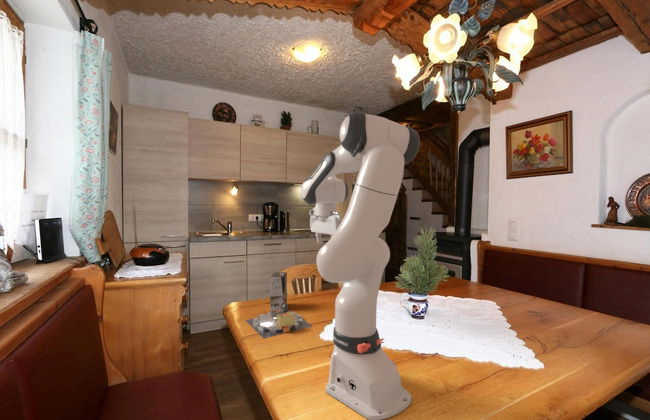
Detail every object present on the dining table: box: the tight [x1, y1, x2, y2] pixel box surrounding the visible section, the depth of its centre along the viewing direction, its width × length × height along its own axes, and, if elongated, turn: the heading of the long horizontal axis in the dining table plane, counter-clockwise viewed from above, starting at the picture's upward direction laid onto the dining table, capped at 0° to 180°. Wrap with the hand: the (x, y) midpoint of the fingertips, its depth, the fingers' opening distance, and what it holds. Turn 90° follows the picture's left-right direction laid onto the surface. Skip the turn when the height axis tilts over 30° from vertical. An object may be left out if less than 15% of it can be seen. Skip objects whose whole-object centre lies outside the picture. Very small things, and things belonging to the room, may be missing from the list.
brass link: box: [277, 311, 295, 328], centre depth 113 cm, size 3×6×4 cm, turn 123°
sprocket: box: [253, 303, 304, 334], centre depth 119 cm, size 19×20×6 cm
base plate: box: [245, 310, 313, 339], centre depth 119 cm, size 20×20×1 cm
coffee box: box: [269, 271, 288, 312], centre depth 137 cm, size 9×6×16 cm
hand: (326, 244), depth 126 cm, fingers open, 8 cm apart
